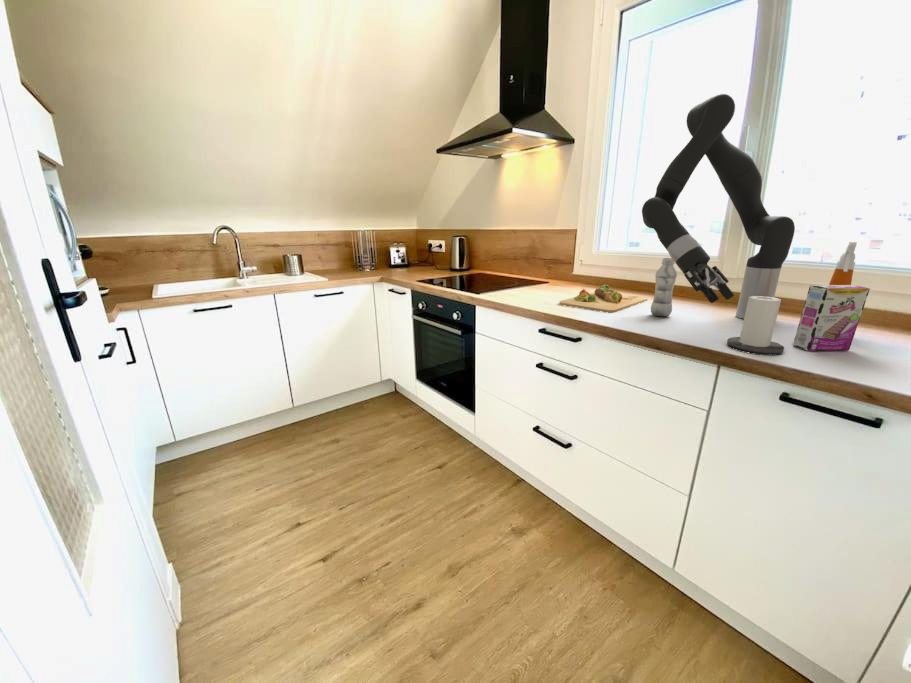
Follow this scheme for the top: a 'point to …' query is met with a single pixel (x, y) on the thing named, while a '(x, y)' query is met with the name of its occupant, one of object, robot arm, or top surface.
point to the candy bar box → (830, 317)
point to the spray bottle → (844, 267)
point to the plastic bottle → (664, 288)
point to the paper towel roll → (759, 321)
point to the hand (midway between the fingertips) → (723, 299)
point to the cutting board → (603, 300)
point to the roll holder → (769, 350)
